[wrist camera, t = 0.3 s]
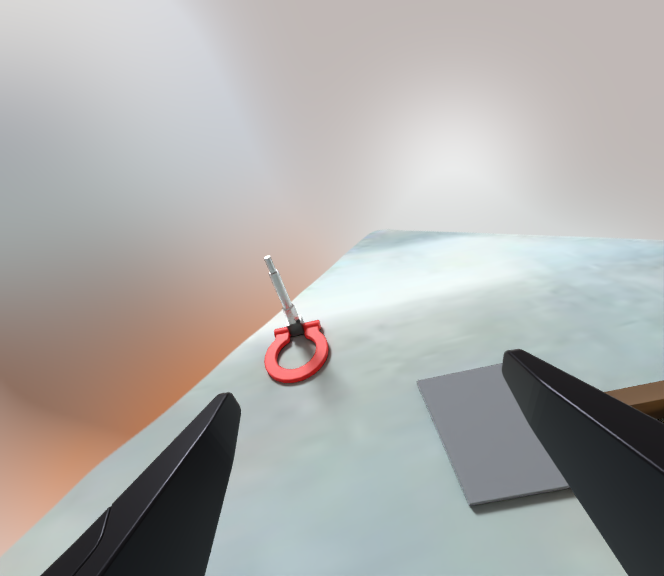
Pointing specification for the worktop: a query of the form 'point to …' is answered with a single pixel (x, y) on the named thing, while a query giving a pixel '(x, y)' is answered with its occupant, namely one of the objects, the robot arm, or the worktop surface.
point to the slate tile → (488, 437)
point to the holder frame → (643, 398)
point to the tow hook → (293, 328)
